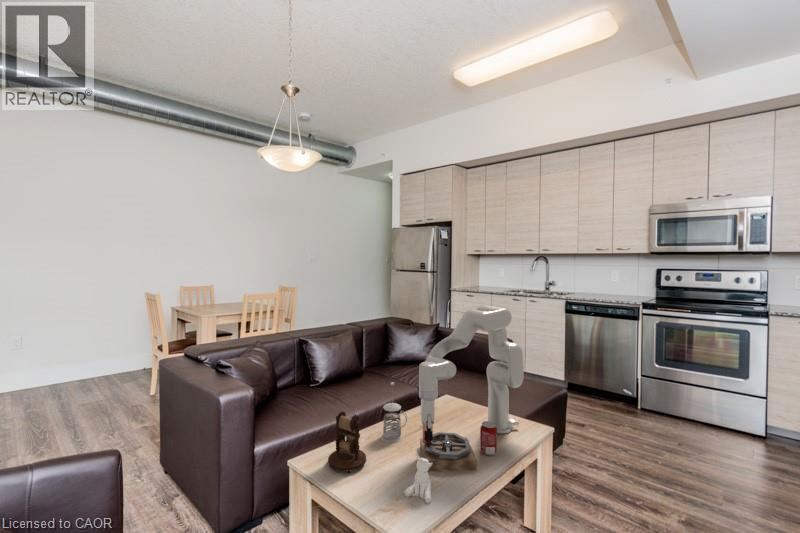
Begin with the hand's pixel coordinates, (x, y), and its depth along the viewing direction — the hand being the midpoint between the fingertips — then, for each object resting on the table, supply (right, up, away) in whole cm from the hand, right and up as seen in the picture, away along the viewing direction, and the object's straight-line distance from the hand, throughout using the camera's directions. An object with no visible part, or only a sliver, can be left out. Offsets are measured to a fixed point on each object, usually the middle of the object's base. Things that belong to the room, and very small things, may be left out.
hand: (428, 437), depth 154 cm
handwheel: (+8, -4, -1) cm, 9 cm away
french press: (-14, -8, +17) cm, 23 cm away
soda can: (+26, -9, +5) cm, 27 cm away
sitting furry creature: (-4, -9, -23) cm, 25 cm away
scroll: (-32, -8, -5) cm, 34 cm away
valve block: (+8, -8, 0) cm, 11 cm away
